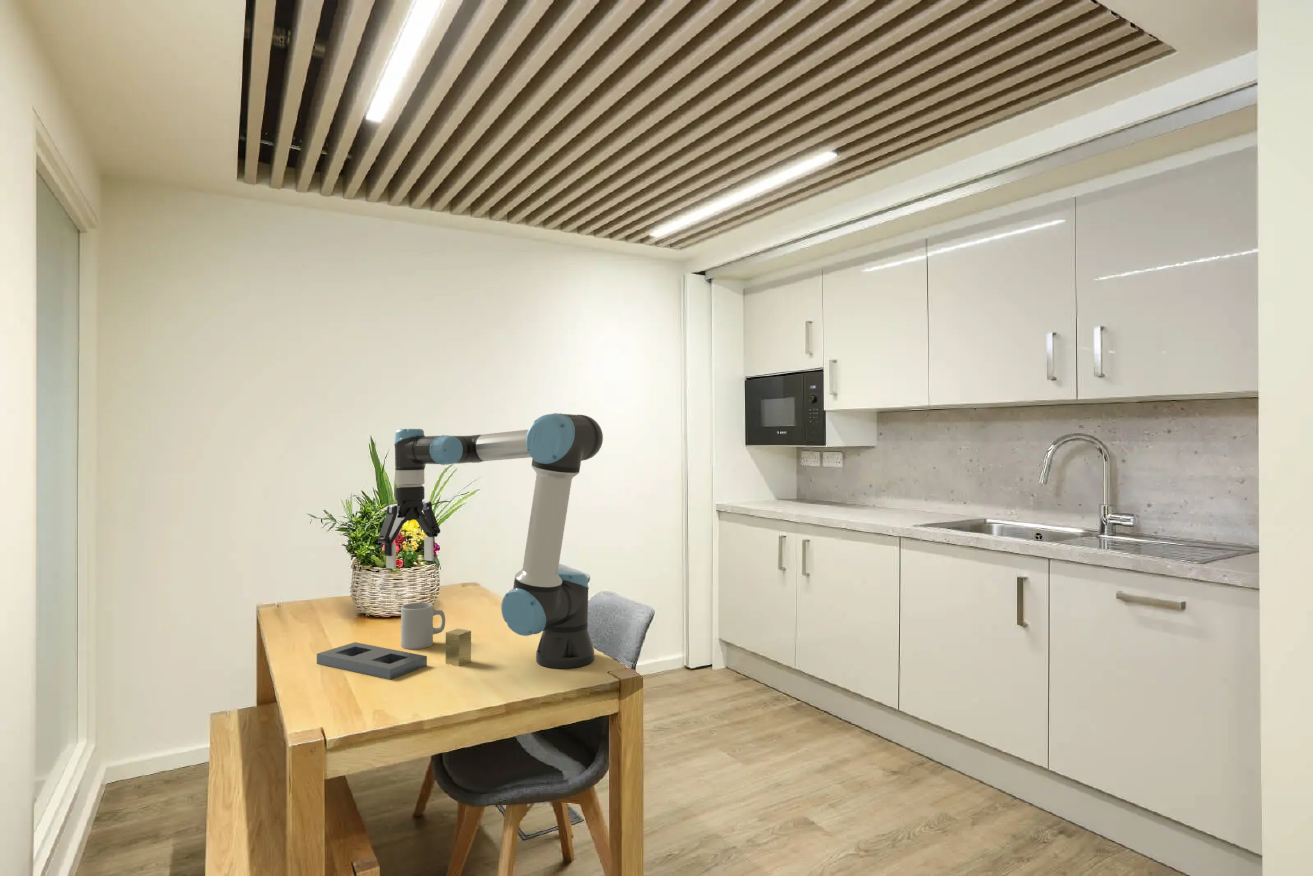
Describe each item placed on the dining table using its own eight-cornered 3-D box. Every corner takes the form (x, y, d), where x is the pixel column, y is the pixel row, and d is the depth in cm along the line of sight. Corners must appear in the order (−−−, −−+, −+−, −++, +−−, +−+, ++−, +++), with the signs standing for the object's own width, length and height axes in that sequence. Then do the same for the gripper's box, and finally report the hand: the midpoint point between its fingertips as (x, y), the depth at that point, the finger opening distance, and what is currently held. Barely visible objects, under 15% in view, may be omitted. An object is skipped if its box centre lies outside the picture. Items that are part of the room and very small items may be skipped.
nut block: (470, 661, 195) (471, 630, 195) (458, 666, 191) (459, 634, 191) (457, 659, 197) (457, 628, 197) (445, 663, 193) (445, 632, 193)
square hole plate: (426, 665, 191) (426, 656, 191) (390, 679, 180) (390, 669, 180) (354, 651, 203) (355, 642, 203) (316, 663, 192) (316, 653, 192)
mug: (403, 651, 204) (403, 610, 204) (398, 643, 211) (398, 604, 211) (448, 645, 209) (448, 606, 209) (441, 638, 217) (442, 600, 217)
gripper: (433, 482, 216) (433, 556, 216) (362, 488, 194) (363, 570, 194) (452, 483, 212) (453, 558, 212) (383, 489, 190) (384, 572, 190)
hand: (410, 564), depth 203 cm, fingers open, 13 cm apart
